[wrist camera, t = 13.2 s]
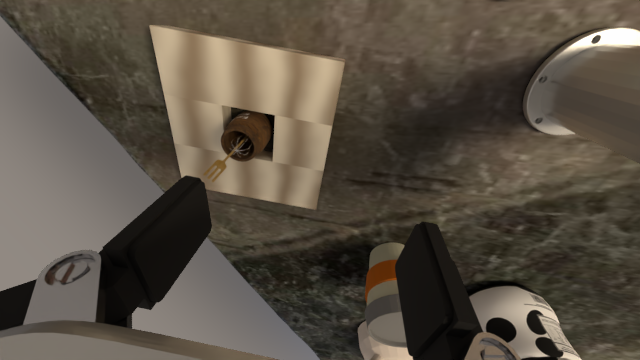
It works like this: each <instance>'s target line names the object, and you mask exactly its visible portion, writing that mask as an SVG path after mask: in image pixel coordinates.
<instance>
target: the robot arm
mask: <svg viewBox="0 0 640 360" xmlns="http://www.w3.org/2000/svg"><path fill="white" fill-rule="evenodd" d="M523 112H524V116H525V118H526V120H527V121H528V122H529V124H530V125H531V126H532V127H534V128H536V129H537V130H539V131H541V132H544V133H546V134H551V135H569V134H575V133H576V134H578V135H580V136H582V137H585V138H587V139H589V140H591V141H593V142H595V143H597V144H599V145H602V146H604V147H606V148H608V149H610V150H612V151H614V152H616V153H618V154H621V155H623V156H625V157H627V158H629V159H631V160H633V161H635V162H637V163H640V31H639V30H636V29H633V28H625V27H609V28H603V29H598V30H594V31H591V32H588V33H586V34H583V35H581V36H579V37H577V38H575V39H573V40H571V41H569V42H568V43H566V44H565V45H563V46H562V47H561V48H559V49H558V50H556V51H555V52H554V53H553V54H552V55H551V56H550V57H548V58H547V59H546V60H545V61H544V63H543V64H542V65H541V66H540V67H539V68H538V69H537V71H536V72H535V74H534V75H533V77H532V78H531V80H530V82H529V84H528V86H527V88H526V91H525V94H524V98H523ZM211 227H212V224H211V218H210V212H209V206H208V200H207V194H206V188H205V183H204V182H202V181H201V179H200V178H198V177H193V176H187V175H186V176H184V177H182V178H181V179H180V180H179V181H178V182H177V183H175V184H174V185H173V186H172V187H171V188H170V189H169V190H168V191H166V192H165V193H164V194H163V195H162V196H161V197H160V198H159V199H157V200H156V201H155V202H154V203H153V204H152V205H150V206H149V207H148V208H147V209H146V210H145V211H144V212H142V214H140V215H139V216H138V217H137V218H136V219H134V220H133V221H132V222H131V223H130V224H129V225H128V226H126V227H125V228H124V229H123V230H122V231H121V232H120V233H119V234H117V235H116V236H115V237H114V238H113V239H112V240H110V242H108V243H107V244H106V245H105V246H104V247H103V250H102V251H100V252H99V253H97V252H95V251H92V250H81V251H75V252H72V253H69V254H66V255H64V256H62V257H60V258H58V259H56V260H54V261H53V262H51V263H50V264H49V265H47V266H46V267H45V268H44V269H43V270H42V271H41V273H40V274H39V276H38V278H37V279H36V280H33V281H30V282H27V283H24V284H21V285H18V286H15V287H12V288H9V289H6V290H3V291H0V360H278V359H274V358H269V357H264V356H260V355H255V354H250V353H246V352H241V351H237V350H231V349H227V348H223V347H218V346H213V345H208V344H204V343H199V342H194V341H189V340H185V339H180V338H175V337H170V336H165V335H161V334H156V333H151V332H146V331H141V330H135V329H132V313H133V312H134V311H135V309H136V308H137V307H140V308H145V309H149V310H151V309H152V308H153V306H154V305H155V304H156V302H160V301H161V300H162V299H163V298H164V296H165V295H166V294H167V292H168V291H169V289H170V288H171V286H172V285H173V284H174V282H175V281H176V280H177V278H178V277H179V275H180V274H181V272H182V271H183V270H184V268H185V267H186V265H187V264H188V263H189V261H190V260H191V258H192V257H193V255H194V254H195V253H196V251H197V250H198V248H199V247H200V246H201V244H202V243H203V241H204V240H205V239H206V237H207V236H208V234H209V233H210V231H211ZM395 273H396V280H397V286H398V292H399V299H400V305H401V311H402V318H403V324H404V331H405V337H406V343H407V349H408V353H409V355H410V356H413V360H521V358H520V357H519V355H518V354H517V353H516V352H515V350H514V349H513V348H512V347H511V346H510V345H509V344H508V343H507V342H506V341H504V340H503V339H501V338H500V337H498V336H496V335H494V334H491V333H487V332H483V330H482V327H481V325H480V323H479V320H478V318H477V315H476V313H475V311H474V308H473V306H472V303H471V301H470V298H469V296H468V294H467V291H466V289H465V286H464V284H463V281H462V279H461V277H460V274H459V272H458V269H457V267H456V265H455V263H454V261H453V260H452V259H451V257H450V255H449V252H448V250H447V247H446V245H445V242H444V240H443V237H442V235H441V232H440V230H439V227H438V226H437V225H436V224H433V223H427V222H421V223H420V224H416V225H415V227H414V229H413V231H412V233H411V235H410V237H409V239H408V240H407V242H406V244H405V246H404V248H403V250H402V252H401V254H400V256H399V258H398V260H397V261H396V264H395Z"/></svg>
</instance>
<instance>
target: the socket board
mask: <svg viewBox="0 0 640 360" xmlns="http://www.w3.org/2000/svg"><path fill="white" fill-rule="evenodd" d="M149 26H150V31H151V36H152V40H153V45H154V50H155V55H156V59H157V64H158V69H159V73H160V78H161V83H162V88H163V92H164V97H165V102H166V107H167V111H168V116H169V121H170V126H171V130H172V135H173V140H174V145H175V149H176V154H177V159H178V164H179V168H180V173H181V178H182V177H184V176H186V175H187V176H193V177H198V178H200V179H201V181H202V182H204V183H205V188H206V189H207V190H212V191H218V192H223V193H229V194H234V195H239V196H245V197H250V198H256V199H261V200H266V201H272V202H277V203H282V204H288V205H293V206H299V207H304V208H309V209H315V210H316V207H317V202H318V196H319V191H320V186H321V181H322V176H323V171H324V166H325V161H326V156H327V151H328V145H329V140H330V135H331V130H332V125H333V120H334V115H335V110H336V105H337V100H338V95H339V89H340V84H341V79H342V74H343V69H344V64H345V59H341V58H336V57H331V56H325V55H320V54H315V53H310V52H304V51H299V50H294V49H289V48H283V47H278V46H273V45H268V44H262V43H257V42H252V41H247V40H241V39H236V38H231V37H226V36H220V35H215V34H210V33H205V32H199V31H194V30H189V29H184V28H178V27H173V26H168V25H149ZM231 107H234V108H239V109H244V110H250V111H255V112H260V113H266V114H271V115H275V124H274V144H273V152H268V151H263V150H262V151H261V152H260V153H259V154H258V155H256V156H255V157H254V158H253V159H251V160H249V161H246V162H240V161H236V160H234V159H232V158H230V157H229V158H228V159H227V160H226V162H225V164H226V166H227V168H226V169H225V170H224V171H223V172H222V173H221V174H220V176H219V177H218V178H217V179H216V180H215V181H214V182H212V180H213V178H214V177H215V176H216V175H217V174H218V173H219V172H220V171H221V169H218V170H217V171H216V172H215V174H214V175H213V176H212V177H211V178H210V179H208V178H207V177H208V176H209V175H210V174H211V173H212V172H213V171H214V170H215V169H216V168H217V166H214V167H213V168H212V169H211V170H210V171H209V172H208V174H207V175H206V176H204V175H203V174H204V173H205V172H206V171H207V170H208V169H209V168H210V167H211V166H212V165H213V163H214V162H215V161H216V160H222V161H223V160H224V159H225V158H226V157H227V156H228V155H227V154H226V153H225V152H224V150H223V148H222V146H221V136H222V134H223V132H224V131H225V129H226V128H227V126H228V124H229V123H230V122H231V121H232V118H231Z"/></svg>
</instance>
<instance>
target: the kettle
mask: <svg viewBox="0 0 640 360" xmlns="http://www.w3.org/2000/svg"><path fill="white" fill-rule="evenodd" d="M358 337H359V345H360V349H361V352H362V354H363V357H364V359H365V360H413V356H410V355H409V353H408V349H407V348H400V347H392V346H388V345H384V344H382V343H379V342H377V341H376V340H374V339H373V338H372V337H371V336H370V335H369V333H368V329H367V323H366V321H364V322H363V323H362V324H361V325H360V326H359V328H358Z"/></svg>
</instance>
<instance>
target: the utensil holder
mask: <svg viewBox="0 0 640 360" xmlns="http://www.w3.org/2000/svg"><path fill="white" fill-rule="evenodd" d="M271 136H272V125H271V122H270V121H269V119H268V118H267V117H266V116H265V115H264V114H263V113H260V112H255V111H250V110H247V111H244V112H242V113H240V114H239V115H238V116H237V117H235V118H234V119H233V120H232V121H231V122H230V123H229V124H228V126H227V128H226V129H225V131H224V132H223V134H222V136H221V146H222V148H223V150H224V152H225V153H226V154H227V155H228V156H227V157H226V158H225V159H224V160H223V161H222V160H216V161H215V162H214V163H213V165H212V166H211V167H210V168H209V169H208V170H207V171H206V172H205V173H204V174H203V175H204V176H206V175H207V174H208V172H209V171H210V170H211V169H212V168H213V167H214V166H217V168H216V169H215V170H214V171H213V172H212V173H211V174H210V175H209V176H208V177H207V178H208V179H210V178H211V177H212V176H213V175H214V174H215V172H216V171H217V170H218V169H221V171H220V172H219V173H218V174H217V175H216V176H215V177H214V178H213V180H212V182H214V181H215V180H216V179H217V178H218V177H219V176H220V174H221V173H222V172H223V171H224V170H225V169H226V168H227V166H226V164H225V162H226V160H227V159H228V158H229V157H230V158H232V159H234V160H236V161H240V162H246V161H249V160H251V159H253V158H254V157H255V156H256V155H258V154H259V153H260V152H261V151H262V150H263V149H264V148H265V146H266V145H267V144H268V142H269V140H270V138H271Z"/></svg>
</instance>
